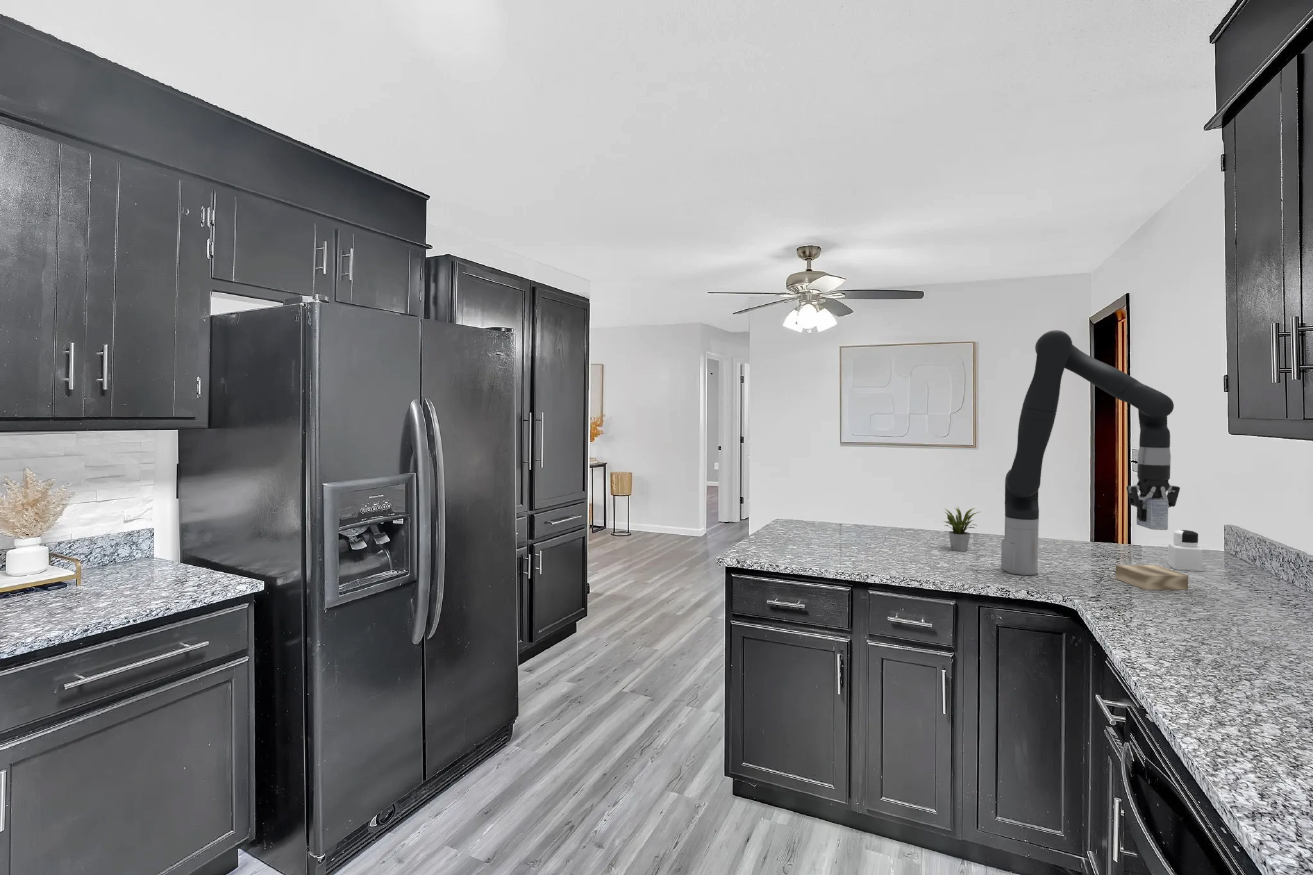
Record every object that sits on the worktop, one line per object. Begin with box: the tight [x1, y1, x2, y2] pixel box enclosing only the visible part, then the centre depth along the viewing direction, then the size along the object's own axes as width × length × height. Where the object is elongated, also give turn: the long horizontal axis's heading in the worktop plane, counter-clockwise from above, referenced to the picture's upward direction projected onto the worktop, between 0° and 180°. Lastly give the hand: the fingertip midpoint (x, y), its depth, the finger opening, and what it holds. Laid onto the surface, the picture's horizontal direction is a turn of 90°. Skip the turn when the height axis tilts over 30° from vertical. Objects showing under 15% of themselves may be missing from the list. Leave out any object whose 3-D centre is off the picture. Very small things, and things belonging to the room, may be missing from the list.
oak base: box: [1115, 564, 1189, 591], centre depth 188 cm, size 12×12×4 cm
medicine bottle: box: [1167, 529, 1204, 572], centre depth 205 cm, size 7×7×12 cm
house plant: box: [943, 506, 980, 552], centre depth 233 cm, size 14×14×16 cm
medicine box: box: [1136, 497, 1169, 531], centre depth 187 cm, size 8×4×9 cm, turn 169°
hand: (1152, 520), depth 187 cm, fingers closed on medicine box, 5 cm apart
